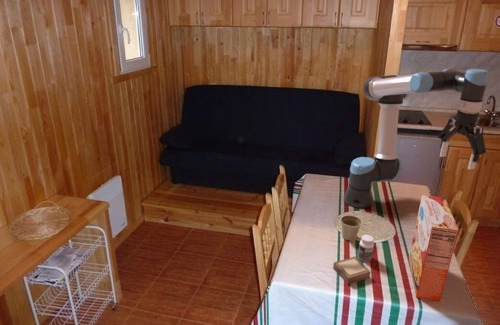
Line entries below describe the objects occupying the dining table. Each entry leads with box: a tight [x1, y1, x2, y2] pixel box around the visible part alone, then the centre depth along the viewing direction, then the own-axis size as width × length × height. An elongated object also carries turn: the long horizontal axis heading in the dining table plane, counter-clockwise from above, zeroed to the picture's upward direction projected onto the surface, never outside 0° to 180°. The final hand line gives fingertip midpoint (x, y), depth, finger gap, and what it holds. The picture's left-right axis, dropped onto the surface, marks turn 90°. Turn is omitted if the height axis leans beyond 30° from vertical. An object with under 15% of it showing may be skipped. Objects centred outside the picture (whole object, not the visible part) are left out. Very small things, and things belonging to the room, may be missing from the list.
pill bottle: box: [357, 234, 375, 262], centre depth 159 cm, size 6×6×10 cm
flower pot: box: [339, 214, 363, 241], centre depth 173 cm, size 9×9×9 cm
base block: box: [332, 256, 371, 285], centre depth 151 cm, size 10×10×3 cm
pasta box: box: [408, 194, 459, 302], centre depth 143 cm, size 23×8×30 cm, turn 166°
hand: (456, 162), depth 156 cm, fingers open, 13 cm apart
